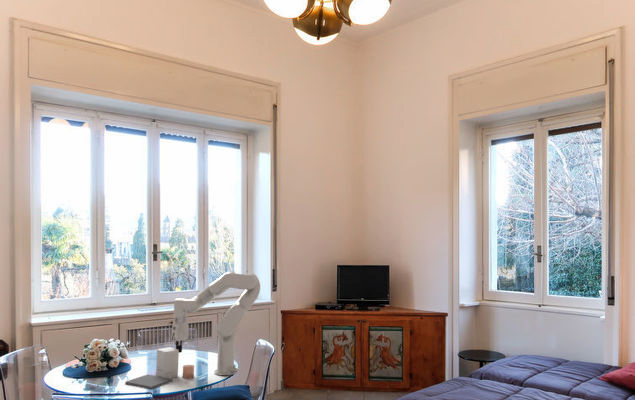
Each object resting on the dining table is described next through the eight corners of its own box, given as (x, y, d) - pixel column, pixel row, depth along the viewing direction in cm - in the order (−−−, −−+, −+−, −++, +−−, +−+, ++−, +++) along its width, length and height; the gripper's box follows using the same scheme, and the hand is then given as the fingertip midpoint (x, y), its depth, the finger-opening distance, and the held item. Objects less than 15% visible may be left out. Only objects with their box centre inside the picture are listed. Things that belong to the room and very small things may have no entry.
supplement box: (178, 376, 292) (179, 349, 292) (164, 379, 285) (165, 351, 286) (169, 373, 298) (170, 346, 299) (155, 376, 291) (156, 349, 292)
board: (172, 381, 282) (172, 379, 282) (151, 389, 268) (151, 386, 268) (147, 376, 290) (147, 374, 290) (125, 384, 276) (125, 381, 276)
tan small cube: (196, 376, 292) (196, 365, 293) (189, 379, 287) (189, 368, 287) (187, 375, 295) (187, 364, 295) (180, 377, 290) (180, 366, 290)
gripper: (176, 322, 293) (175, 355, 292) (193, 318, 307) (192, 350, 306) (166, 321, 297) (164, 353, 295) (183, 317, 310) (182, 348, 309)
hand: (178, 352), depth 301 cm, fingers closed
